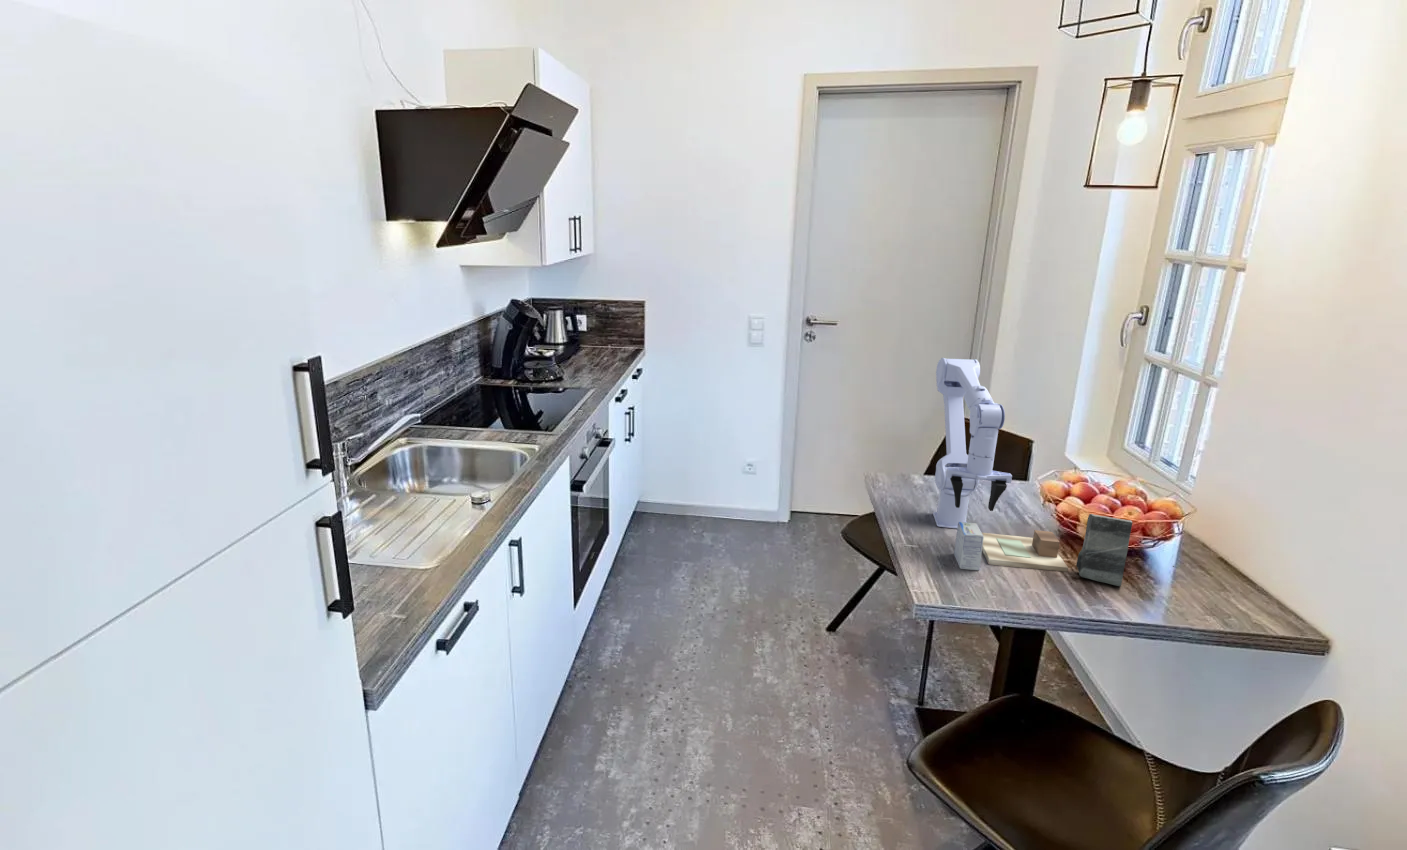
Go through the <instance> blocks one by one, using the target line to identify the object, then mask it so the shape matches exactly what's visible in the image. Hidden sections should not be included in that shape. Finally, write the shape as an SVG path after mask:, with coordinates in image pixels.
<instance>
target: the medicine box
mask: <svg viewBox="0 0 1407 850" xmlns="http://www.w3.org/2000/svg"><path fill="white" fill-rule="evenodd" d="M982 533H983V532H982V531H981V529H980V527H979V524H978V523H975V522H967V521H966V522H958V527H957V528H956V535H955V536H956V537H955V542H954V543H955V544H954V551H953V555H954V557H955V560H956V562H957V564H958V567H959V569H960V570H968V571H980V567H981V560H982V553H983V551H982V546H983V539H984V536H983V534H982Z"/></svg>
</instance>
